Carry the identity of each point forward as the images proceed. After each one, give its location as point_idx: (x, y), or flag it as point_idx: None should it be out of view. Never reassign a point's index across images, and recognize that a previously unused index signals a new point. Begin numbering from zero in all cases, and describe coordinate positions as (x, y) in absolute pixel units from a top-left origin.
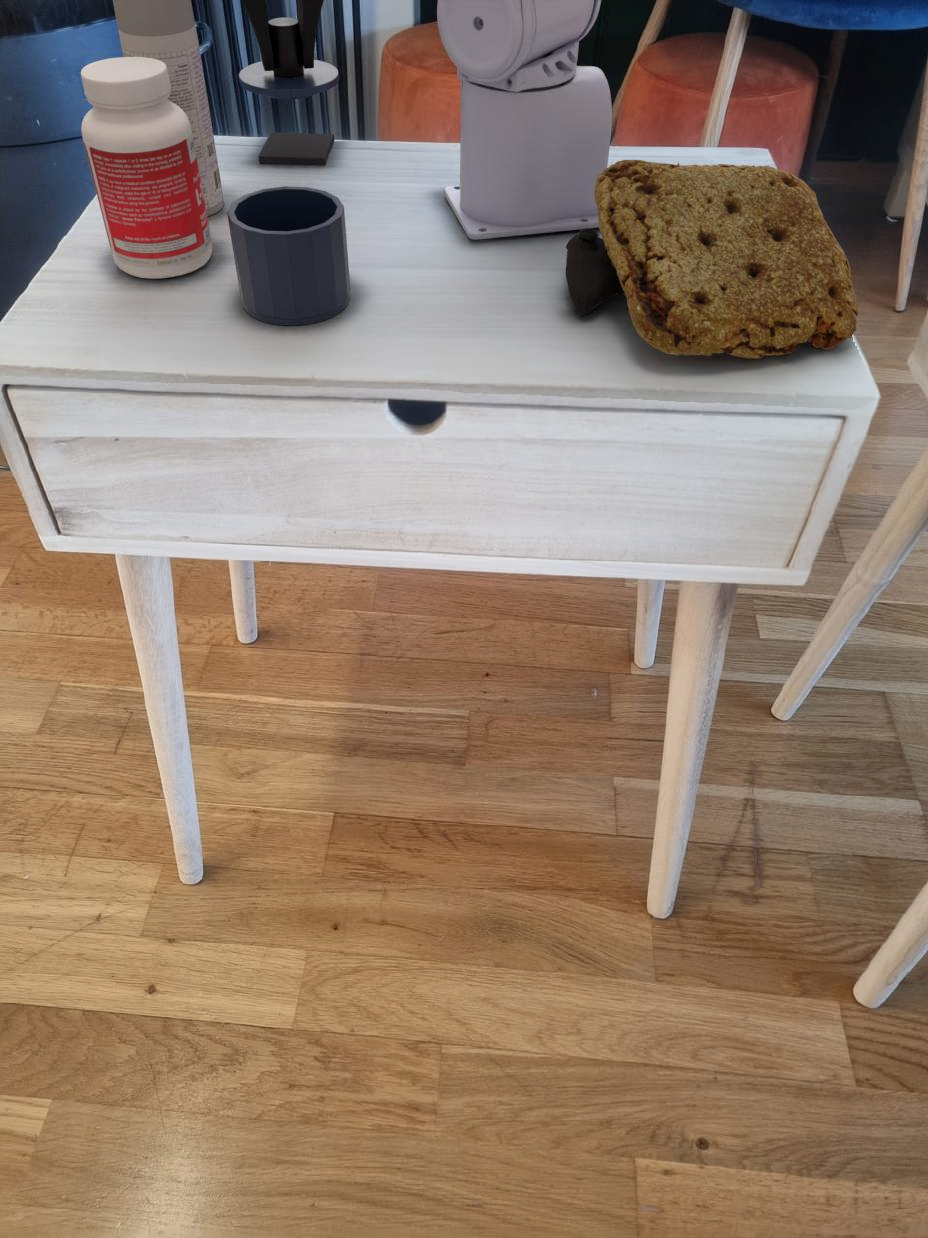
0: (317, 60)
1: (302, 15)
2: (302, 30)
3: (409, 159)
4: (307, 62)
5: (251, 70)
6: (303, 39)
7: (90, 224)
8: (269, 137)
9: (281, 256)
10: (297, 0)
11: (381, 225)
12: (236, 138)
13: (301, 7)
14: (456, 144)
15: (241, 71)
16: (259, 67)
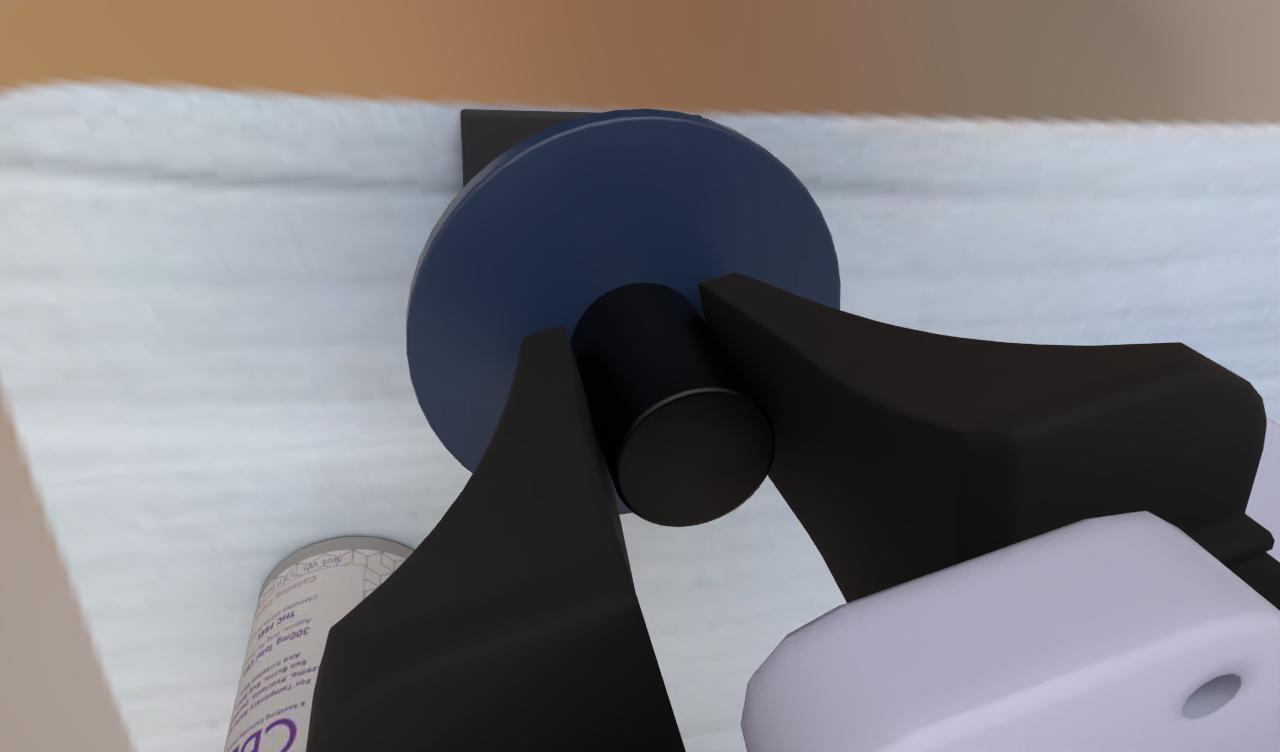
0: (757, 156)
1: (814, 522)
2: (778, 462)
3: (917, 255)
4: None
5: (459, 332)
6: (769, 475)
7: (136, 718)
8: (471, 176)
9: None
10: (807, 377)
11: (803, 597)
12: (312, 107)
13: (827, 527)
14: (1075, 123)
15: (415, 352)
16: (488, 287)
